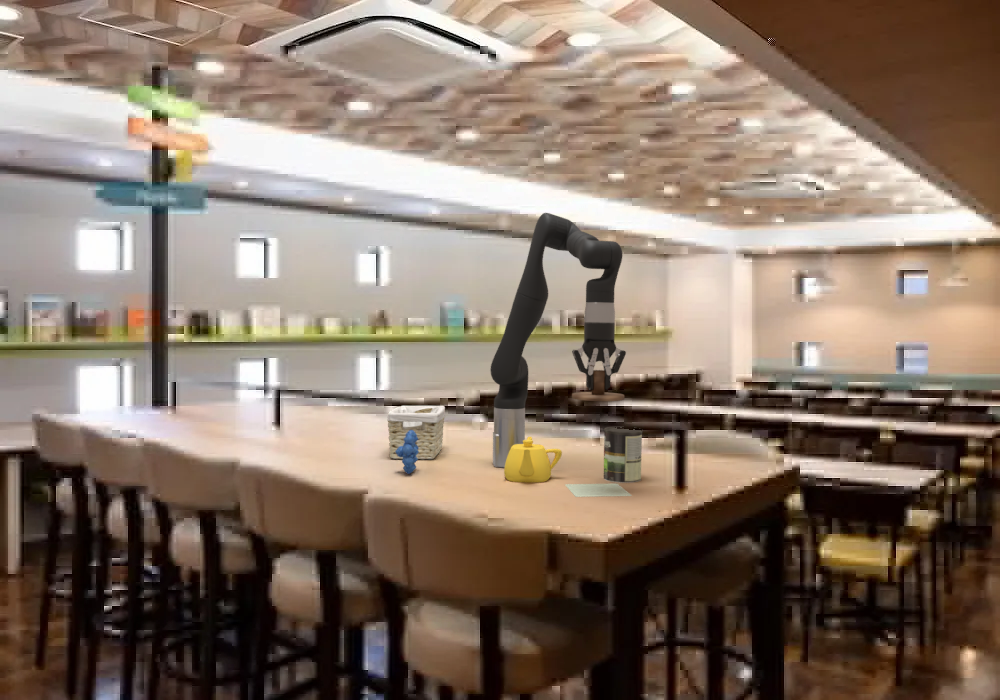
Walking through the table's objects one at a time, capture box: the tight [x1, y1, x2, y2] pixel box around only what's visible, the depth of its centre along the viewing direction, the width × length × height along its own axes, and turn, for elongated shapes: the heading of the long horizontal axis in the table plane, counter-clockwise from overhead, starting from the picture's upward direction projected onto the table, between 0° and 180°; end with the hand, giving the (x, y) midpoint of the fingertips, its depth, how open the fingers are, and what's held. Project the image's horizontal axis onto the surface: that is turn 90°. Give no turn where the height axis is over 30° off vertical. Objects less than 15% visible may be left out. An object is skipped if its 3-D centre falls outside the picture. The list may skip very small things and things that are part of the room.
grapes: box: [395, 430, 419, 475], centre depth 214 cm, size 12×7×12 cm, turn 177°
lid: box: [571, 369, 625, 402], centre depth 190 cm, size 13×13×7 cm
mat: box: [564, 483, 633, 498], centre depth 191 cm, size 14×14×1 cm
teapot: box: [503, 436, 563, 484], centre depth 206 cm, size 22×16×11 cm
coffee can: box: [603, 426, 643, 484], centre depth 205 cm, size 10×10×14 cm
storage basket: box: [387, 405, 446, 460], centre depth 244 cm, size 24×16×15 cm
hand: (598, 389), depth 190 cm, fingers closed on lid, 3 cm apart
